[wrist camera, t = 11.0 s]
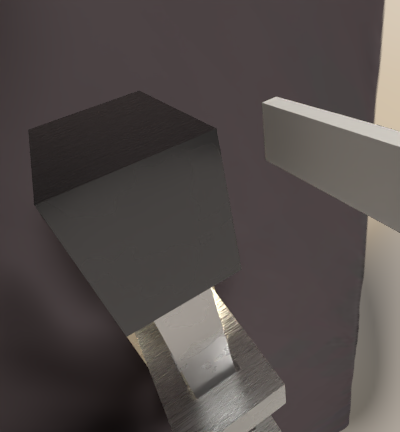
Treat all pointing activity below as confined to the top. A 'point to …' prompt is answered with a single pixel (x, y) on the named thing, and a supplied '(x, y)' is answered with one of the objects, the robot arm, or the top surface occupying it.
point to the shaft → (144, 221)
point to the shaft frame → (219, 395)
